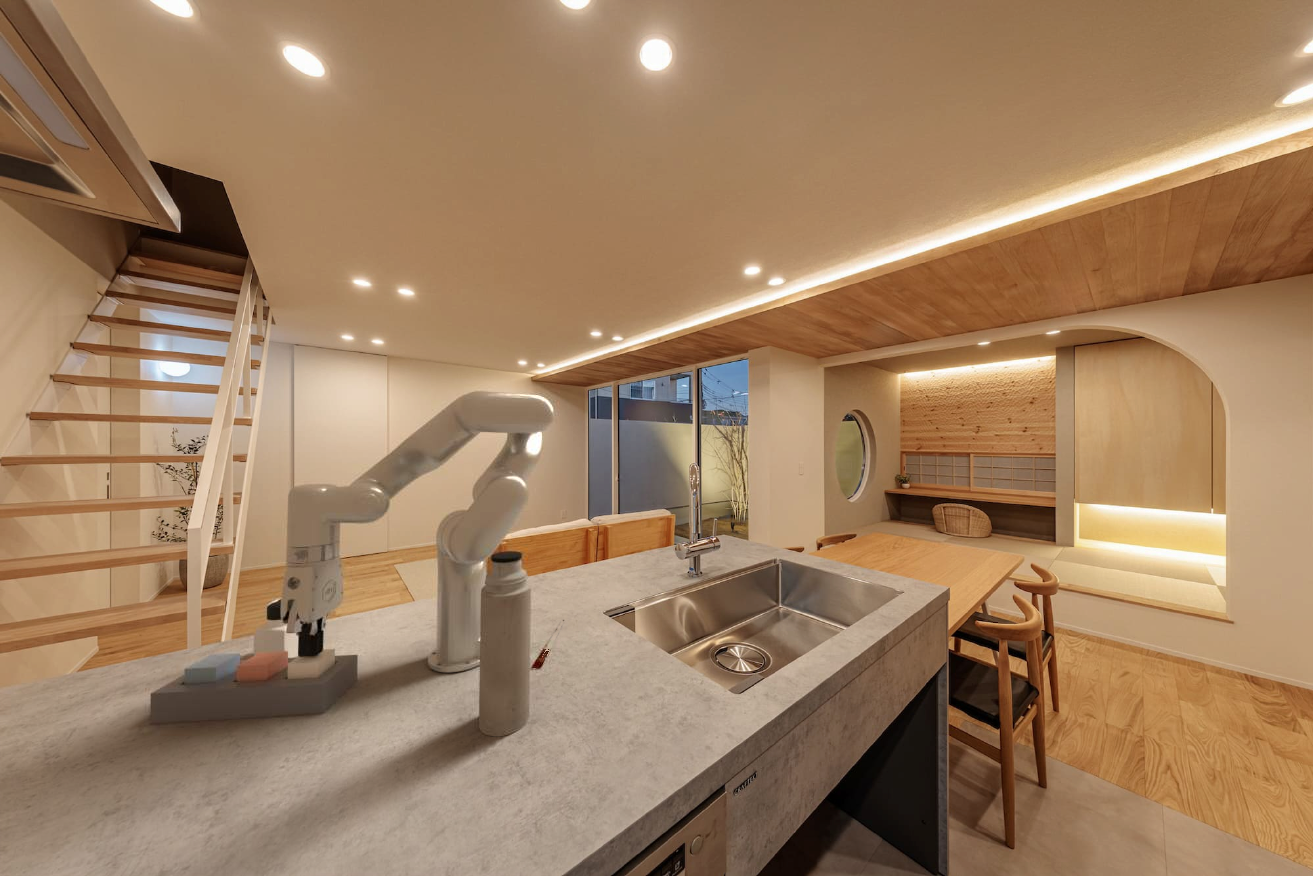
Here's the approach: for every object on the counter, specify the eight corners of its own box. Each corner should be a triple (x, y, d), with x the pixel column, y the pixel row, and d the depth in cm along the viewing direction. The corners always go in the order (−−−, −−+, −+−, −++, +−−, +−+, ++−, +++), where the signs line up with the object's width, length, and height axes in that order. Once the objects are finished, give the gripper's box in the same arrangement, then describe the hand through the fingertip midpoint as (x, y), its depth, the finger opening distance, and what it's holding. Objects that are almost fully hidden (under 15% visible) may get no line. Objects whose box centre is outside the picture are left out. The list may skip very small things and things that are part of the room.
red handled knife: (566, 621, 111) (566, 617, 111) (540, 671, 87) (541, 666, 87) (558, 621, 111) (559, 617, 111) (531, 670, 87) (531, 666, 87)
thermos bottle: (500, 701, 76) (503, 545, 76) (538, 711, 74) (540, 550, 74) (467, 729, 69) (470, 557, 69) (508, 741, 66) (511, 562, 66)
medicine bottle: (314, 648, 95) (315, 594, 95) (283, 664, 88) (284, 606, 88) (285, 646, 96) (286, 592, 96) (252, 662, 88) (253, 605, 88)
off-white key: (334, 667, 79) (334, 649, 79) (317, 682, 75) (317, 662, 75) (306, 669, 79) (306, 650, 79) (287, 683, 74) (287, 663, 74)
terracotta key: (287, 670, 78) (288, 651, 78) (267, 684, 74) (267, 664, 74) (259, 671, 78) (259, 652, 78) (236, 686, 73) (236, 666, 73)
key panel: (357, 680, 82) (357, 654, 82) (323, 713, 72) (323, 684, 72) (207, 688, 79) (207, 661, 79) (150, 724, 69) (150, 693, 69)
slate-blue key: (239, 672, 77) (240, 653, 77) (215, 687, 73) (216, 667, 73) (210, 673, 77) (210, 654, 77) (184, 689, 72) (184, 668, 72)
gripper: (307, 564, 70) (304, 676, 70) (359, 542, 85) (356, 635, 85) (257, 565, 69) (253, 678, 69) (318, 543, 84) (315, 636, 84)
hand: (310, 654), depth 77 cm, fingers closed
